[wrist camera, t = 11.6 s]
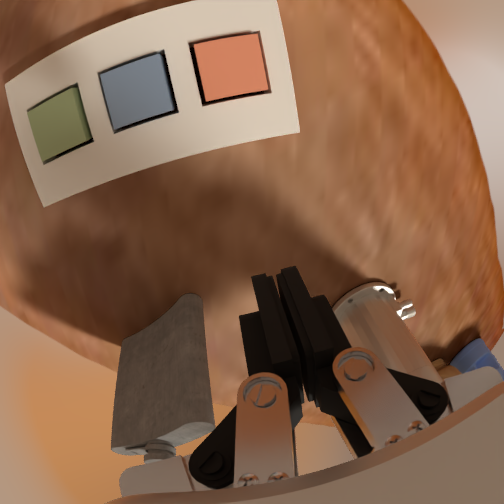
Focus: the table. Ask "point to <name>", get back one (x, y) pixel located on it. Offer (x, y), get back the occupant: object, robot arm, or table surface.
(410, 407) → the robot arm
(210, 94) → the terracotta button
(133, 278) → the table surface
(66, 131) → the olive green button
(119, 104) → the slate blue button
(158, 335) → the hip flask
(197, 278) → the table surface
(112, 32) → the button board
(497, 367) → the water jug
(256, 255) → the table surface
